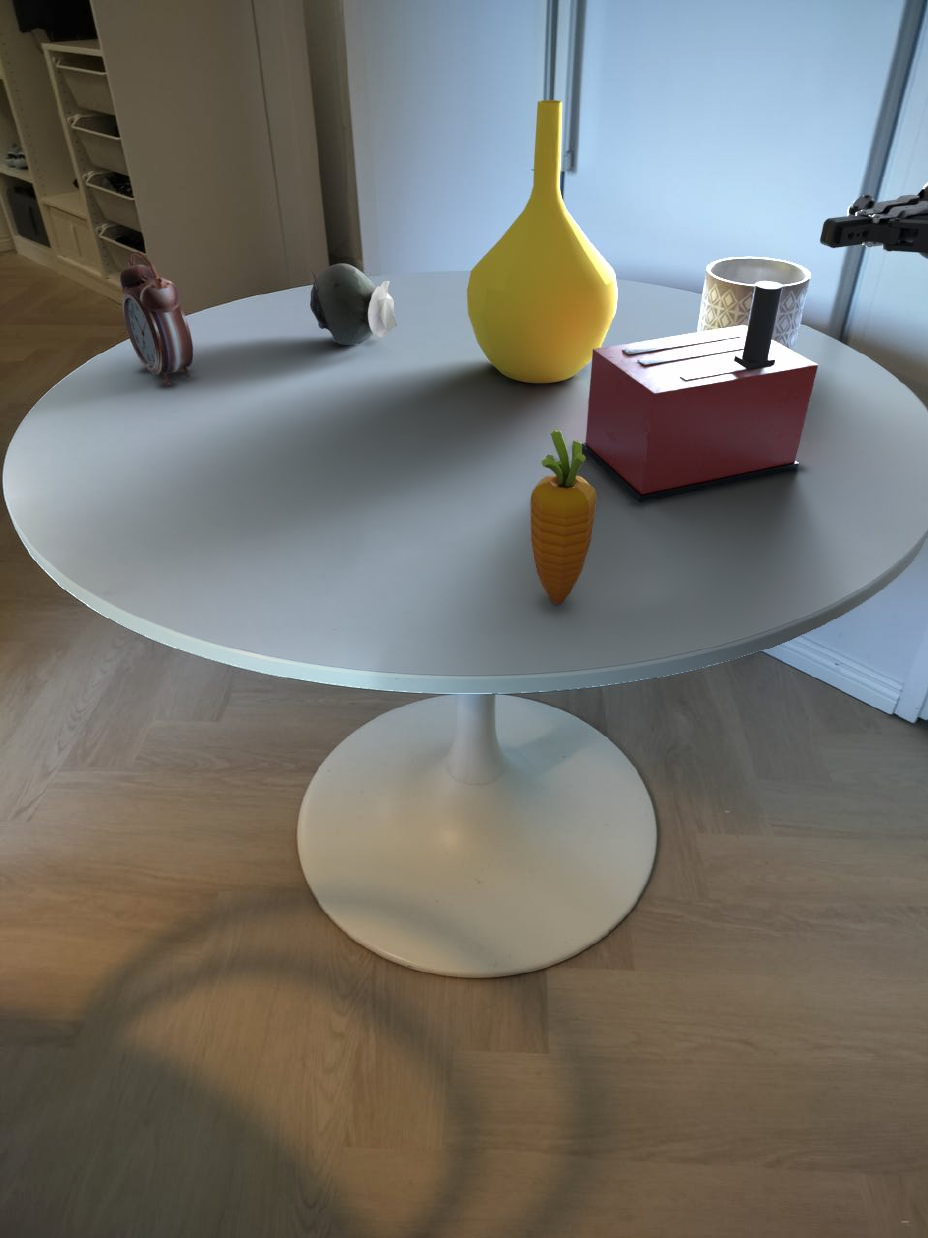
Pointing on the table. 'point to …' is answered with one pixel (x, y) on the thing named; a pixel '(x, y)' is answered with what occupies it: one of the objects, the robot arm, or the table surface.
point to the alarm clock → (155, 319)
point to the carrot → (561, 521)
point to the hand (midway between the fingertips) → (826, 233)
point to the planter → (734, 292)
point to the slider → (761, 326)
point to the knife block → (694, 412)
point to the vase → (542, 280)
